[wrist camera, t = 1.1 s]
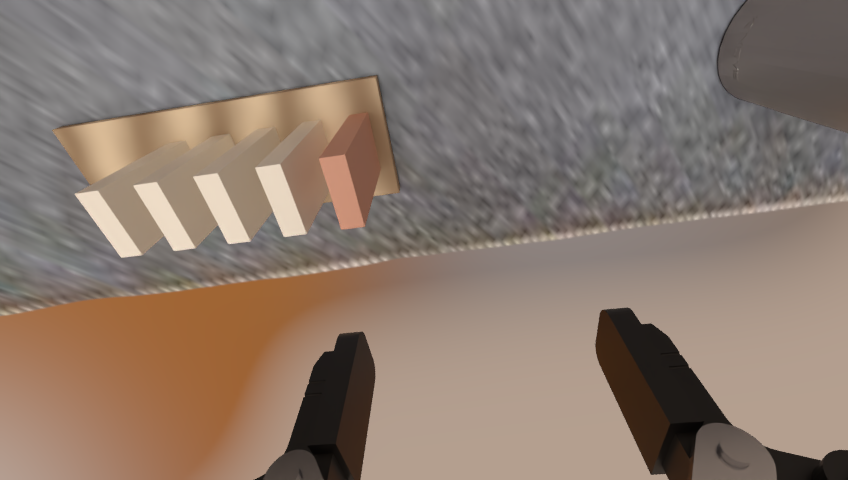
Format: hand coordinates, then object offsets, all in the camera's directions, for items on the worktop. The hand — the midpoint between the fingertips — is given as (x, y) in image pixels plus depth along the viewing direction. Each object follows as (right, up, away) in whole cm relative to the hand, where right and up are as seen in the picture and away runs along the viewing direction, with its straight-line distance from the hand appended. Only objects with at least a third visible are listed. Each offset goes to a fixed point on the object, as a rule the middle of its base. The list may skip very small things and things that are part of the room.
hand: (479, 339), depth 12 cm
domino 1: (-23, +10, +21) cm, 32 cm away
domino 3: (-15, +10, +20) cm, 27 cm away
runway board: (-19, +11, +22) cm, 30 cm away
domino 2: (-19, +10, +21) cm, 30 cm away
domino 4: (-11, +11, +20) cm, 25 cm away
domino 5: (-7, +11, +20) cm, 24 cm away
